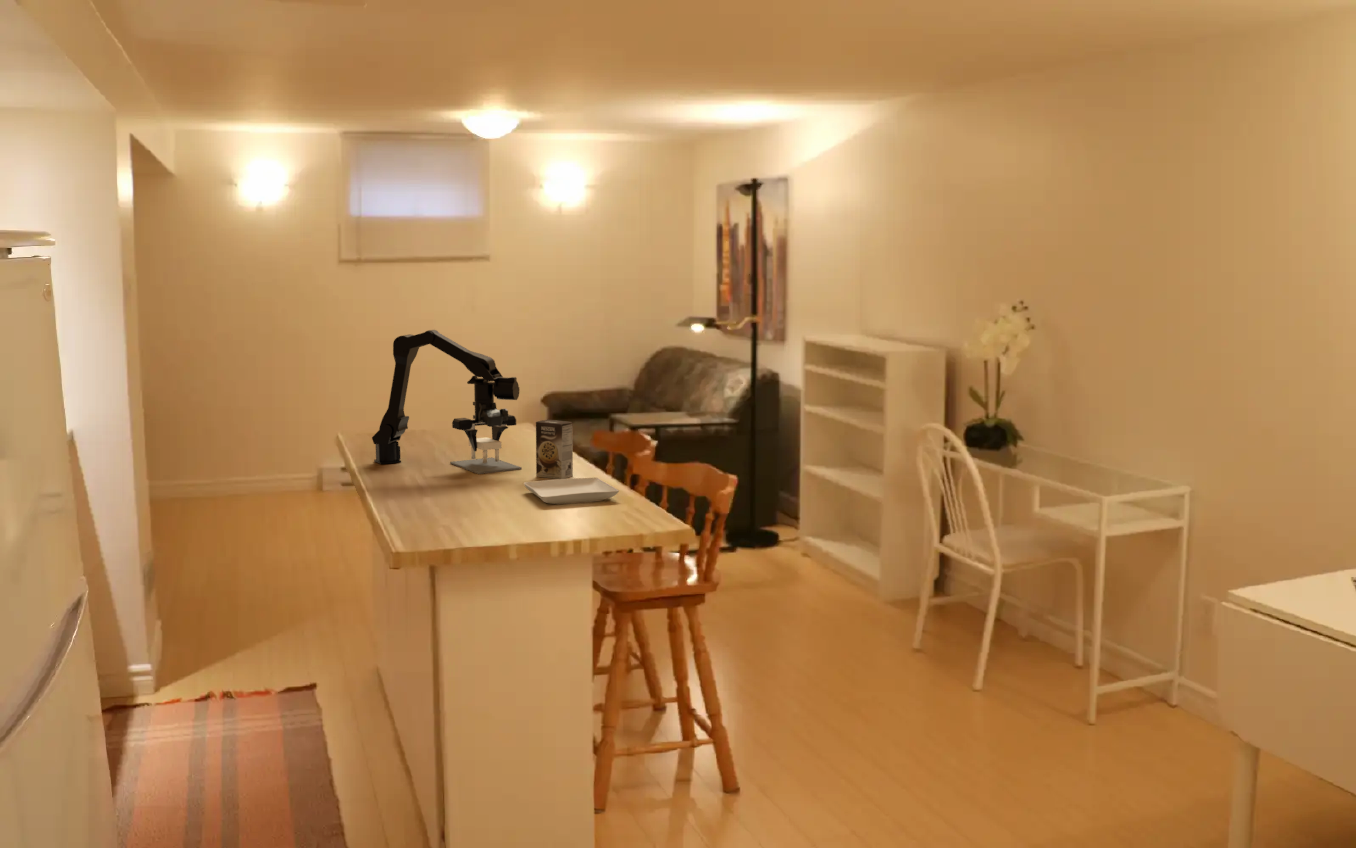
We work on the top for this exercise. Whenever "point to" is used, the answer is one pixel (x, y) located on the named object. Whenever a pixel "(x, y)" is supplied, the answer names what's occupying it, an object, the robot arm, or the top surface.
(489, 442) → the footstool
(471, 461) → the mat
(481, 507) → the top surface
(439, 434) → the top surface
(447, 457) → the top surface
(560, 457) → the coffee box
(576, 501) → the salad plate
